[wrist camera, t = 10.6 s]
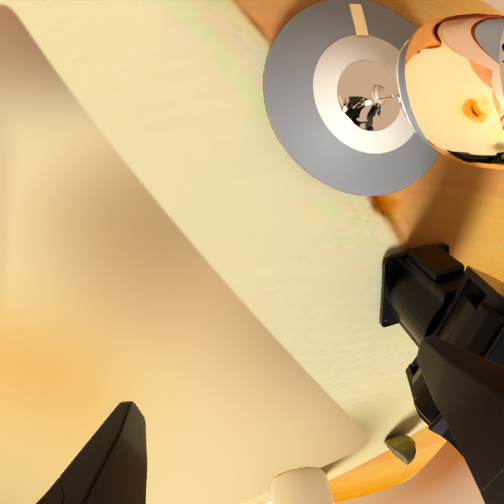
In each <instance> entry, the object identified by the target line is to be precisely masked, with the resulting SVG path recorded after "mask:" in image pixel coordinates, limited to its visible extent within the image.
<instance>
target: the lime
mask: <svg viewBox="0 0 504 504" xmlns="http://www.w3.org/2000/svg"><path fill="white" fill-rule="evenodd" d="M384 443H385V444H386V445H387V447H388V448H389V449H390V450H391V451H392V452H393V453H394V454H395V456H396V457H398V458H399V459H400V460H402V461H403V462H404V463H406V464H407V465H408V464H409V463H411V462H412V460H413V459H414V457H415V454H416V448H415V442H414V441H413V439H412V438H410V437H409V436H407V435H398V436H393V437H391V438H389V439H387V440H386V441H385V442H384Z"/></svg>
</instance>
